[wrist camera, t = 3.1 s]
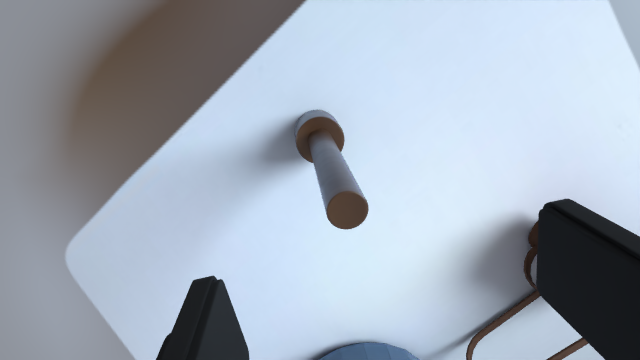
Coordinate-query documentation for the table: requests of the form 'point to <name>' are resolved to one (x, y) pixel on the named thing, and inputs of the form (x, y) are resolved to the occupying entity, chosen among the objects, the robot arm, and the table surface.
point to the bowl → (369, 352)
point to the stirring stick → (331, 168)
